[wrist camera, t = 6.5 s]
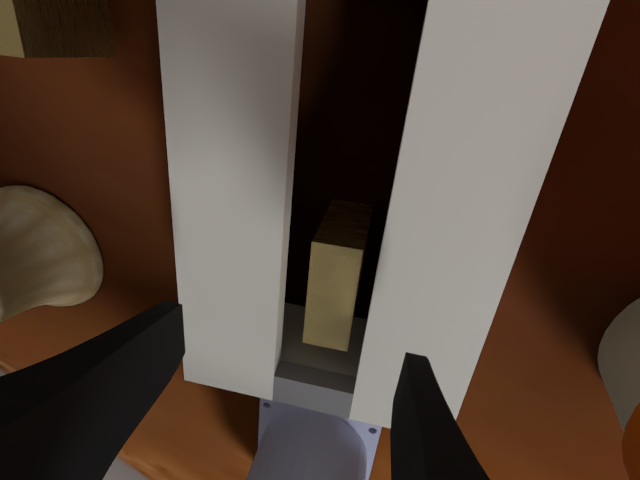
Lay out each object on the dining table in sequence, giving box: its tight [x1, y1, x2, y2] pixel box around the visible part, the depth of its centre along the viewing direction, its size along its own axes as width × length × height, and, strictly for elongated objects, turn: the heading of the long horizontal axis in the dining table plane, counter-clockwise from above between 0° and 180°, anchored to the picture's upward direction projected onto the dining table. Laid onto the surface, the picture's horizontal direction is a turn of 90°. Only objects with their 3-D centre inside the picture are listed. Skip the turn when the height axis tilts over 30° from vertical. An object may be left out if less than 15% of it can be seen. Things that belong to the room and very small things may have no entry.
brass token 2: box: [302, 199, 373, 352], centre depth 18 cm, size 5×2×5 cm, turn 175°
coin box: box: [156, 0, 610, 429], centre depth 16 cm, size 18×12×6 cm, turn 174°
